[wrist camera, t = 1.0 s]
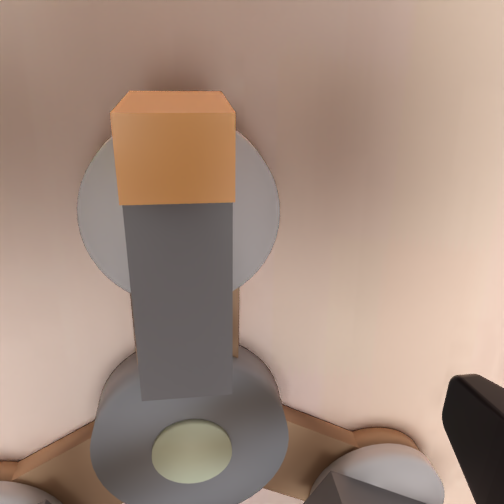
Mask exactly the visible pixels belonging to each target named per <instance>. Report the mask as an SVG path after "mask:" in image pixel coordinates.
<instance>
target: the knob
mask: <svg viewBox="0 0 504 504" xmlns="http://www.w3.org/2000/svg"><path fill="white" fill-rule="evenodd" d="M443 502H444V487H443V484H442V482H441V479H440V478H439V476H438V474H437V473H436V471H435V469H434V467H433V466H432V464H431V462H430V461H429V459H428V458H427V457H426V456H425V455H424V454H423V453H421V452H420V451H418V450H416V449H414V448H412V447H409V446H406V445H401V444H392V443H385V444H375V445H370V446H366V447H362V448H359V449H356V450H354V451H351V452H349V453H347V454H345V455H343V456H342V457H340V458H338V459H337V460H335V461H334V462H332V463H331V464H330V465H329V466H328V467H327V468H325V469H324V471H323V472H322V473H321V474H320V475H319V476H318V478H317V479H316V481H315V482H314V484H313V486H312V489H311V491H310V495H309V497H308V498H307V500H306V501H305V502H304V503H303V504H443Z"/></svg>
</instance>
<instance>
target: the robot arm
mask: <svg viewBox="0 0 504 504" xmlns="http://www.w3.org/2000/svg"><path fill="white" fill-rule="evenodd" d="M442 421H443V425H444V428H445V431H446V433H447V436H448V438H449V440H450V443H451V445H452V448H453V450H454V452H455V455H456V457H457V459H458V462H459V464H460V467H461V469H462V471H463V474H464V476H465V478H466V481H467V483H468V486H469V488H470V490H471V493H472V495H473V497H474V500H475V502H476V504H504V388H502V387H501V386H499V385H497V384H495V383H493V382H491V381H489V380H488V379H486V378H484V377H482V376H480V375H477V374H465V375H456V376H453V377H452V378H451V380H450V382H449V385H448V390H447V394H446V398H445V402H444V407H443V411H442Z"/></svg>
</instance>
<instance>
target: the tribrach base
mask: <svg viewBox="0 0 504 504" xmlns="http://www.w3.org/2000/svg"><path fill="white" fill-rule="evenodd" d="M130 296H131V293H130ZM131 306H132V298H131ZM132 316H133V308H132ZM133 326H134V319H133ZM134 336H135V329H134ZM135 346H136V339H135ZM385 443H392V444H401V445H406V446H409V447H412V448H414V449H416V450H418V451H419V449H418V448H417V446H416V444H415V443H414V442H413V440H412V439H411V438H410V437H408V436H407V435H405V434H404V433H402V432H400V431H397V430H394V429H389V428H380V427H376V428H365V429H360V430H356V431H353V432H352V431H349V430H346V429H344V428H341V427H339V426H336V425H333V424H331V423H328V422H326V421H323V420H320V419H318V418H315V417H313V416H310V415H307V414H305V413H302V412H300V411H297V410H294V409H292V408H289V407H287V406H284V405H282V403H281V399H280V396H279V392H278V388H277V385H276V382H275V380H274V377H273V375H272V374H271V372H270V370H269V369H268V368H267V366H266V365H265V364H264V363H263V362H262V361H261V360H260V359H259V358H258V357H257V356H256V355H255V354H253V353H252V352H250V351H249V350H247V349H245V348H243V347H241V346H239V287H238V288H237V289H235V290H234V291H233V377H232V394H230V395H217V396H204V397H191V398H178V399H165V400H152V401H142V399H141V389H140V379H139V369H138V359H137V349H136V352H135V353H134V354H132V355H131V356H129V357H128V358H127V359H126V360H124V361H123V362H122V363H121V364H120V365H119V366H118V367H117V368H116V369H115V370H114V371H113V372H112V374H111V375H110V377H109V378H108V380H107V381H106V383H105V386H104V388H103V390H102V393H101V396H100V400H99V404H98V409H97V413H96V418H95V421H93V422H91V423H89V424H87V425H86V426H84V427H82V428H80V429H78V430H76V431H75V432H73V433H71V434H69V435H67V436H65V437H64V438H62V439H60V440H58V441H56V442H54V443H53V444H51V445H49V446H47V447H45V448H43V449H41V450H40V451H38V452H36V453H34V454H32V455H30V456H29V457H27V458H25V459H23V460H21V461H19V462H13V461H0V481H9V482H17V483H21V484H26V485H29V486H33V487H36V488H38V489H40V490H43V491H45V492H47V493H49V494H50V495H52V496H54V497H55V498H56V499H58V500H59V501H60V502H61V503H62V504H122V503H125V504H239V503H241V502H243V501H244V500H246V499H248V498H250V497H251V496H253V495H254V494H255V493H257V492H258V491H260V490H261V489H262V488H265V489H268V490H271V491H274V492H278V493H281V494H284V495H287V496H290V497H294V498H297V499H300V500H303V501H306V500H307V498H308V497H309V495H310V491H311V489H312V486H313V484H314V482H315V481H316V479H317V478H318V476H319V475H320V474H321V473H322V472H323V471H324V469H325V468H327V467H328V466H329V465H330V464H331V463H332V462H334V461H335V460H337V459H338V458H340V457H342V456H343V455H345V454H347V453H349V452H351V451H354V450H356V449H359V448H362V447H366V446H370V445H375V444H385Z"/></svg>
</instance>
